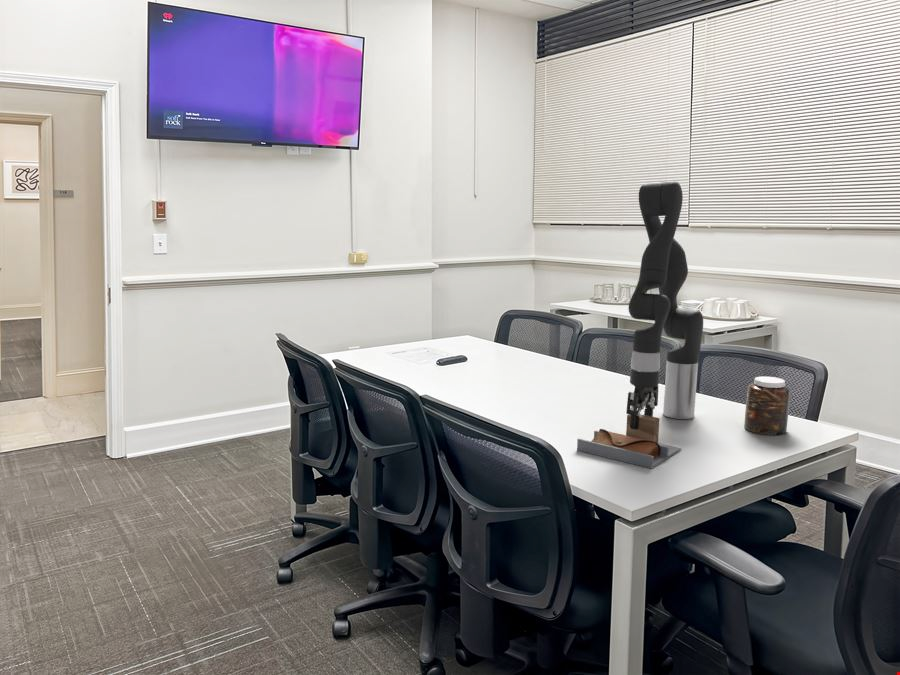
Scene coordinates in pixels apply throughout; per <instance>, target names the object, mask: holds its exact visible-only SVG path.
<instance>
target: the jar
mask: <svg viewBox="0 0 900 675" xmlns="http://www.w3.org/2000/svg"><path fill="white" fill-rule="evenodd" d="M785 383H786V381H785V380H784V379H783V378H780V377H775V376H756V377H754V381H753V383H752V382H751V383H750V384H749V385H747V386H748V387H747V393H746V403H745V412H744V413H745V414H744V423H743V425H744V426H743V427H744V429H745V430H746V431H748V432H750V433H754V434H758V435H763V436H781V435H784V434H786V433H787V430H788V422H789V421H788V420H789V410H790V398H791V389H790V388H789V387H787V386H786V384H785Z"/></svg>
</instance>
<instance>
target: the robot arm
mask: <svg viewBox="0 0 900 675" xmlns="http://www.w3.org/2000/svg"><path fill="white" fill-rule="evenodd" d="M683 200H684V198H683V190H682V187H681V184H680V183H679V182H678V181H675V180H674V181H673V180H668V181H658V182H649V183H644V184H642V185H641V186H640V187H639V191H638V203H639V204H638V206H639V208H640V209H639V210H640V213H641V216H642V220H643V223H644V227H645V230H646V234H647V236H648V237H647V238H648V242H649V243H648V244H647V246H646V248H645V250H644V252H643V254H642V257H641V262H640V271H639V277H638V282H637V284H636V287H635V289H634V291H633V293H632V296H631V297H630V300H629V303H628V312H629V313H628V314H629V315H630V317H631V318H632V319H635V320H639V321H640V320H641V321H642V320H644V321H654V323H653V325H651V326H649V327H643V328H637V329H635V331H634V334H633V344H632V354H631V360H630V375H629V383H630V385H632V386H634V391H632V392H631V391H628V393H627V400H626V401H627V402H626V404H627V405H626V411H625V412H626V414H627V415H628V414H630V415H631V419H630V428H631V429H634V430H637V429H639V417H640V416H639V415H640V414H641V412H642V410H644V411H643V412H644V413H643V415H647V416H652V417H654V410H655V408H656V407H657V406H658V405H659V404H658V403H659V384H660V370H661V367H660V366H661V344H662V333H663V331H664V333H665V335H666V336H667V337H669V338H672V339H679V340H683V341H684V343H683V344H684V345H683V346H682V347H678V348H673V349H670V350H668V351H667V355H666V365H665V382H664V393H663V394H664V397H663V412H662V414H663V416H665V417H667V418H671V419H677V420H690V419H693V418H695V412H696V411H695V410H696V409H695V408H696V396H697V395H696V394H697V382H698V368H699V358H700V353H701V345H702V338H703V331H704V317H703V314H702V312H701V311H699V310H695V309H689V308H688V309H687V308H679V306H678V301H677V297H678V293H679V292H680V291H681V290H680V289H682V287H683V285H684V283H685V281H686V279H687V277H688V274H689V268H688V267H689V266H688V261H687V255H686V252H685V250H684V248H683V246H682V244H680V243H679V242H678V241H677V240H676V239H675V238H674V237H675V235H676V234H675V233H676V230H677V228H678V223H679V219H680V215H681V212H682V208H683V207H682V206H683ZM660 217H664V219H663V222H662V221H661V219H660ZM653 289H658V293H648V291H650V290H653Z"/></svg>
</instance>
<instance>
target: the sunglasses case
mask: <svg viewBox="0 0 900 675" xmlns="http://www.w3.org/2000/svg"><path fill="white" fill-rule="evenodd" d="M598 431H599V432H598V433H597V434H596V436H595V437H594V436H593V439H591V440H590V441H591V442H595V443H600V444H604V445H608V446H613V447H617V448H621V449H625V450H630V451H634V452H638V453H642V454H647V455H651V456H654V459H656V458H658V457H659V456H660V453H661V448H660V445H659V444H658V443H659V442H658V443H656V442H654V441H650V440H642V439H638V438H635V437H631V436H627V435H626V434H623V433H622V434H621V433H618V432H612V431H609V430H606V429H603V428H601V429H600V428H599V429H598ZM654 459H653V460H654Z"/></svg>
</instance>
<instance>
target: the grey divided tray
mask: <svg viewBox="0 0 900 675" xmlns="http://www.w3.org/2000/svg"><path fill="white" fill-rule="evenodd" d="M639 416H640V417H639V429H637V430H634V429H631V428H630V419H631V415H630V414H627V415H626V430H625V435H627V436H631V437H635V438H638V439H642V440H650V441H654V442H656V443H658V444H659V445H660V448H661V453H660V456H659V457H658V458H656V459H654V456H651V455H647V454H642V453H638V452H634V451H630V450H625V449H621V448H617V447H613V446H608V445H604V444H600V443H595V442H591V441H592V440H586V439H583V438H577V443H576V444H577V445H576V446H577V448H576V450H577V451H579V452H583V453H587V452H588V453H587V454H591V455H594V456H595V455H596V456H600V457H602V458H603V457H604V458H609V459H612V460H616V461H620V462H625V463H627V464H632V465H635V466H640V467H644V468H647V469H648V468H649V469H653V468H655V467H656V466H659V465H660V464H661V463H663V462H665V461H666V460H667V459H669V458H671V457H672V456H673V455H676V454H677V453H679V452H680V451H681V450H682V447H679V446H674V445H669V444H666V443H661V442H659V434H660V417H656V416H653V417H652V416H647V415H644V414H642V413H640V415H639ZM598 432H599V430H594V431H593V433H594V434H593V435H594V436H593V438H594V437H595V436H596V434H597V433H598ZM653 459H654V460H653Z"/></svg>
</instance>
